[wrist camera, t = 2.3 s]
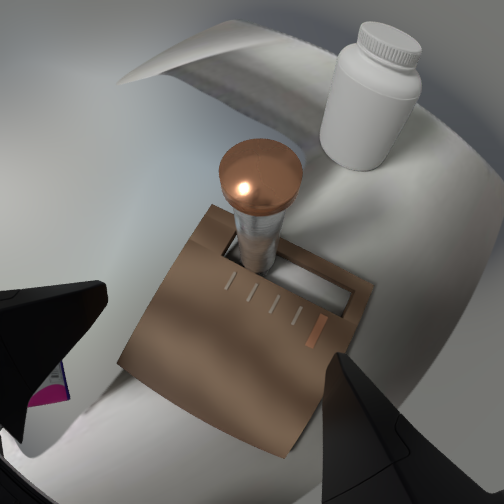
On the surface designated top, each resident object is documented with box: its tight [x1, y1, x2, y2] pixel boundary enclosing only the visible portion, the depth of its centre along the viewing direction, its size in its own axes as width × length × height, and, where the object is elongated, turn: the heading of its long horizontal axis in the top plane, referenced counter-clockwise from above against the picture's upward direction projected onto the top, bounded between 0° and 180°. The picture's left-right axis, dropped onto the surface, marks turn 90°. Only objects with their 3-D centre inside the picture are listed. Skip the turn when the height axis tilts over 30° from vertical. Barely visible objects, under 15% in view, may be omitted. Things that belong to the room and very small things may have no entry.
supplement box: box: [28, 361, 70, 407], centre depth 15 cm, size 6×6×12 cm
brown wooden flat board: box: [117, 204, 374, 459], centre depth 22 cm, size 16×16×1 cm
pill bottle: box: [320, 22, 422, 171], centre depth 22 cm, size 8×8×15 cm
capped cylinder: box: [219, 139, 303, 276], centre depth 18 cm, size 4×4×13 cm
